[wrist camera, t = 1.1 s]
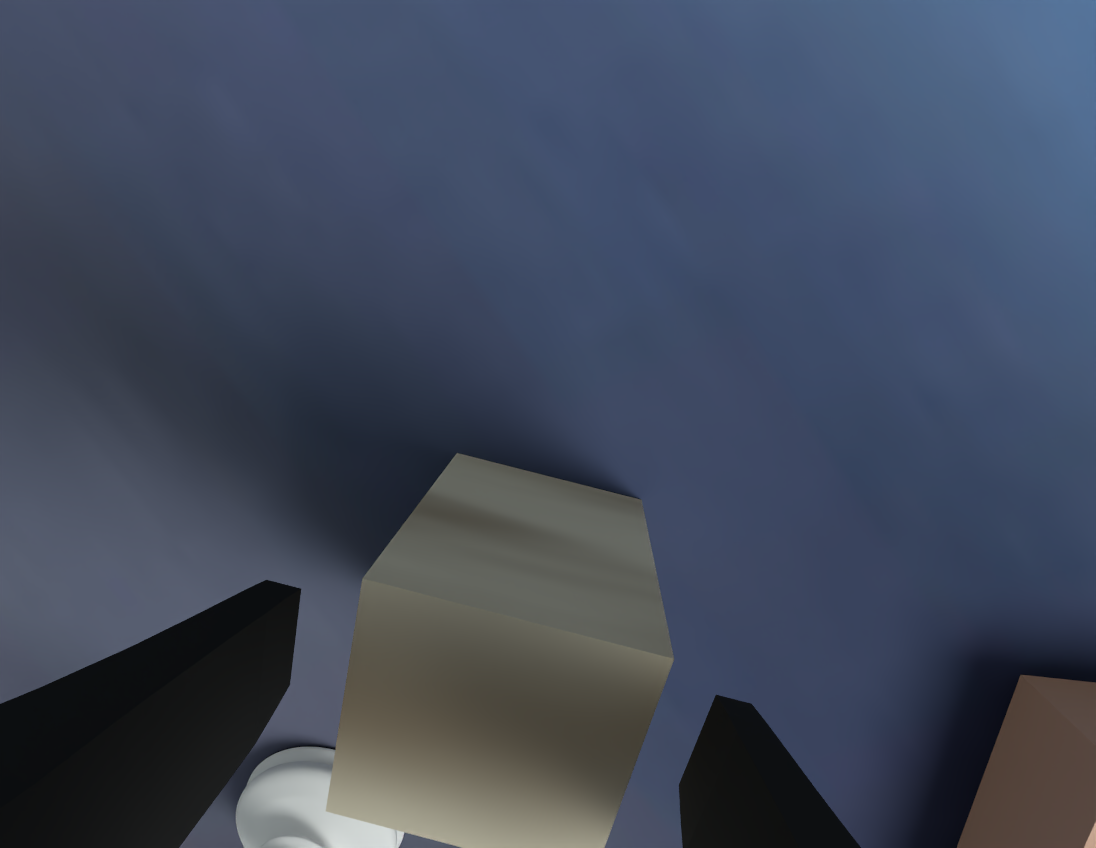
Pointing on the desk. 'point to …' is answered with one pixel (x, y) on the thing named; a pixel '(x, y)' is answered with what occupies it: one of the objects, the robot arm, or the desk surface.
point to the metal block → (503, 664)
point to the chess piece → (301, 807)
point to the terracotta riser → (1040, 771)
